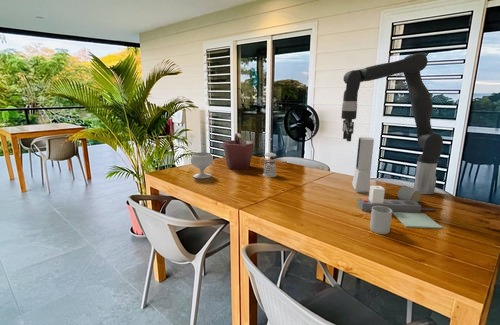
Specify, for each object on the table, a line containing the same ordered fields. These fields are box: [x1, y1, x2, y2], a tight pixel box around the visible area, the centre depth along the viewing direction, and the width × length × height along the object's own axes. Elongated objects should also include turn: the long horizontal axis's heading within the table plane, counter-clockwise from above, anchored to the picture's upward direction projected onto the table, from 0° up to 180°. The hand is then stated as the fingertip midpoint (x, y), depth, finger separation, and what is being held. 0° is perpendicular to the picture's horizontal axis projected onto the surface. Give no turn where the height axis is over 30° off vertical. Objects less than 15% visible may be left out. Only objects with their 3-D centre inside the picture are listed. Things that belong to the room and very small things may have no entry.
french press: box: [259, 137, 278, 178], centre depth 188 cm, size 10×12×25 cm
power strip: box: [357, 198, 436, 213], centre depth 133 cm, size 34×7×4 cm, turn 85°
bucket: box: [222, 132, 254, 171], centre depth 208 cm, size 24×22×25 cm
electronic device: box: [352, 136, 375, 194], centre depth 158 cm, size 12×8×30 cm, turn 168°
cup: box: [369, 206, 393, 235], centre depth 113 cm, size 7×10×9 cm
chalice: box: [190, 151, 214, 180], centre depth 184 cm, size 14×14×15 cm
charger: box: [368, 185, 386, 204], centre depth 133 cm, size 5×5×9 cm
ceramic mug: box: [397, 184, 422, 203], centre depth 144 cm, size 11×8×8 cm
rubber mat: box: [392, 212, 443, 229], centre depth 122 cm, size 14×14×1 cm
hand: (346, 140), depth 154 cm, fingers open, 8 cm apart
